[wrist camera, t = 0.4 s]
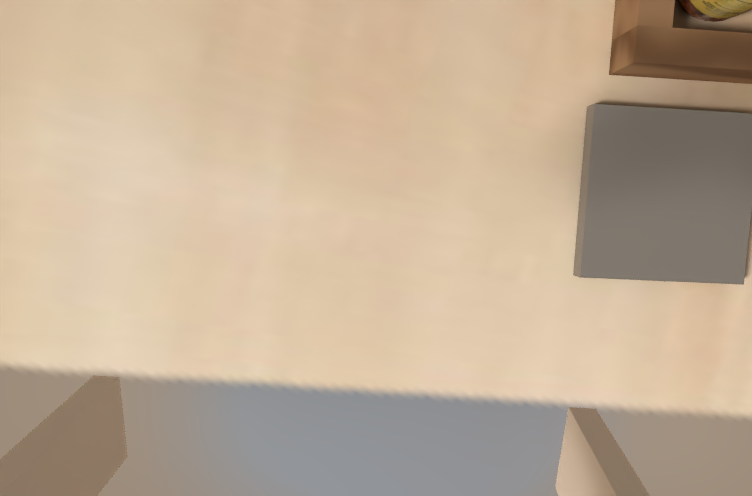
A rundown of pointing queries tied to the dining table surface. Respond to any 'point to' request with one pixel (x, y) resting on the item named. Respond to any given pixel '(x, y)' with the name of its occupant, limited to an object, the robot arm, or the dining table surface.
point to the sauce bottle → (715, 8)
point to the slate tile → (665, 195)
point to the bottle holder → (675, 46)
